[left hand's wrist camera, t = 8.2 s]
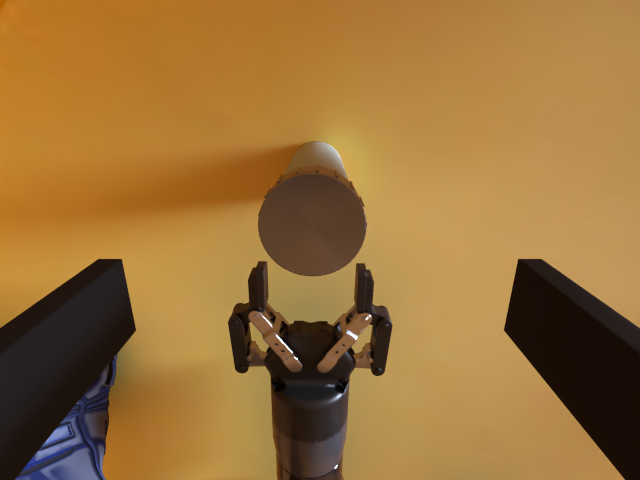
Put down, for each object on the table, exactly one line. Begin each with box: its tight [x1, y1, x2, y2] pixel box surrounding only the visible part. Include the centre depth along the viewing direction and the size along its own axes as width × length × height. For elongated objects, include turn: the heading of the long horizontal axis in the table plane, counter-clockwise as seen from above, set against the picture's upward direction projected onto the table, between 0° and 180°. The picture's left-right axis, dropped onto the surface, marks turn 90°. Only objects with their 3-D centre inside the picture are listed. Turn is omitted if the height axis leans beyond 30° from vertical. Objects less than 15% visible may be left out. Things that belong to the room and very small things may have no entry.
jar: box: [284, 141, 348, 180], centre depth 27 cm, size 5×5×17 cm
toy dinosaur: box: [15, 354, 117, 480], centre depth 35 cm, size 37×15×15 cm
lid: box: [258, 165, 367, 276], centre depth 19 cm, size 5×5×2 cm
